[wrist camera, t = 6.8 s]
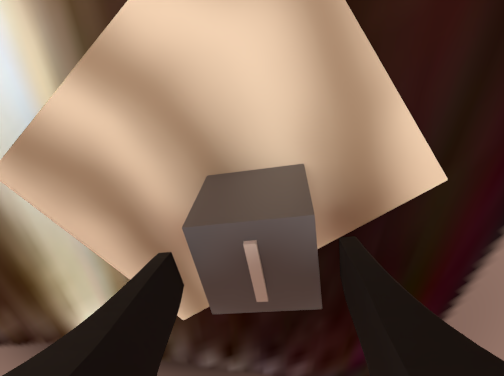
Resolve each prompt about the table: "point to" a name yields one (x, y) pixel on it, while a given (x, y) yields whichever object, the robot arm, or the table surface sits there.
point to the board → (216, 126)
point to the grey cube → (256, 241)
